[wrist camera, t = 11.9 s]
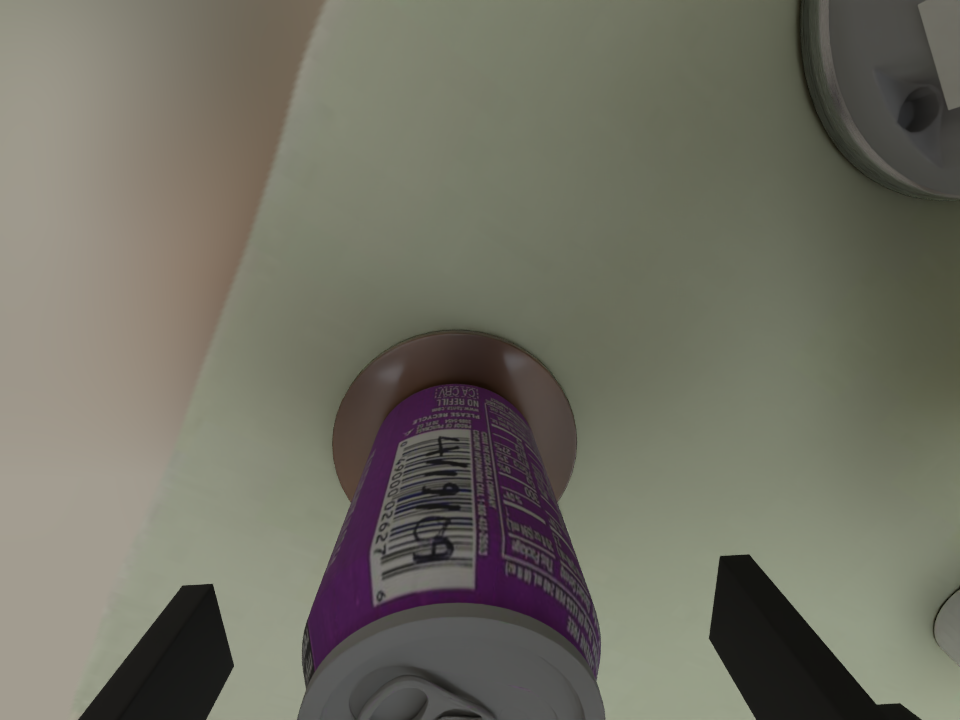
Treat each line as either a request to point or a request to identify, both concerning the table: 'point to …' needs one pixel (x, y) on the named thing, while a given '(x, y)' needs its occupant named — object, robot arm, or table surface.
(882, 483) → the table surface
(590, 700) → the beverage can
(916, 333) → the table surface
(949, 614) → the coffee cup
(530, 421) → the coaster
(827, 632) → the table surface
